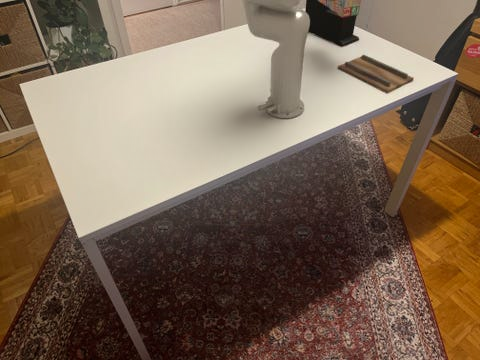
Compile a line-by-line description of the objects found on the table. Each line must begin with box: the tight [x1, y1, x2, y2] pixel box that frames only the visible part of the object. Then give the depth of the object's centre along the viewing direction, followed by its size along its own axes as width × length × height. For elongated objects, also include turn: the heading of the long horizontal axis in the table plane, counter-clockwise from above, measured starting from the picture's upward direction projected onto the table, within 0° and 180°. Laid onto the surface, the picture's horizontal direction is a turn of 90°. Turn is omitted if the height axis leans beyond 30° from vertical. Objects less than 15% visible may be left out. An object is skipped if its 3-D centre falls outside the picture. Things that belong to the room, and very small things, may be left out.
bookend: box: [304, 0, 360, 48], centre depth 153 cm, size 23×11×24 cm, turn 36°
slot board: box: [337, 54, 415, 94], centre depth 134 cm, size 14×23×2 cm, turn 35°
